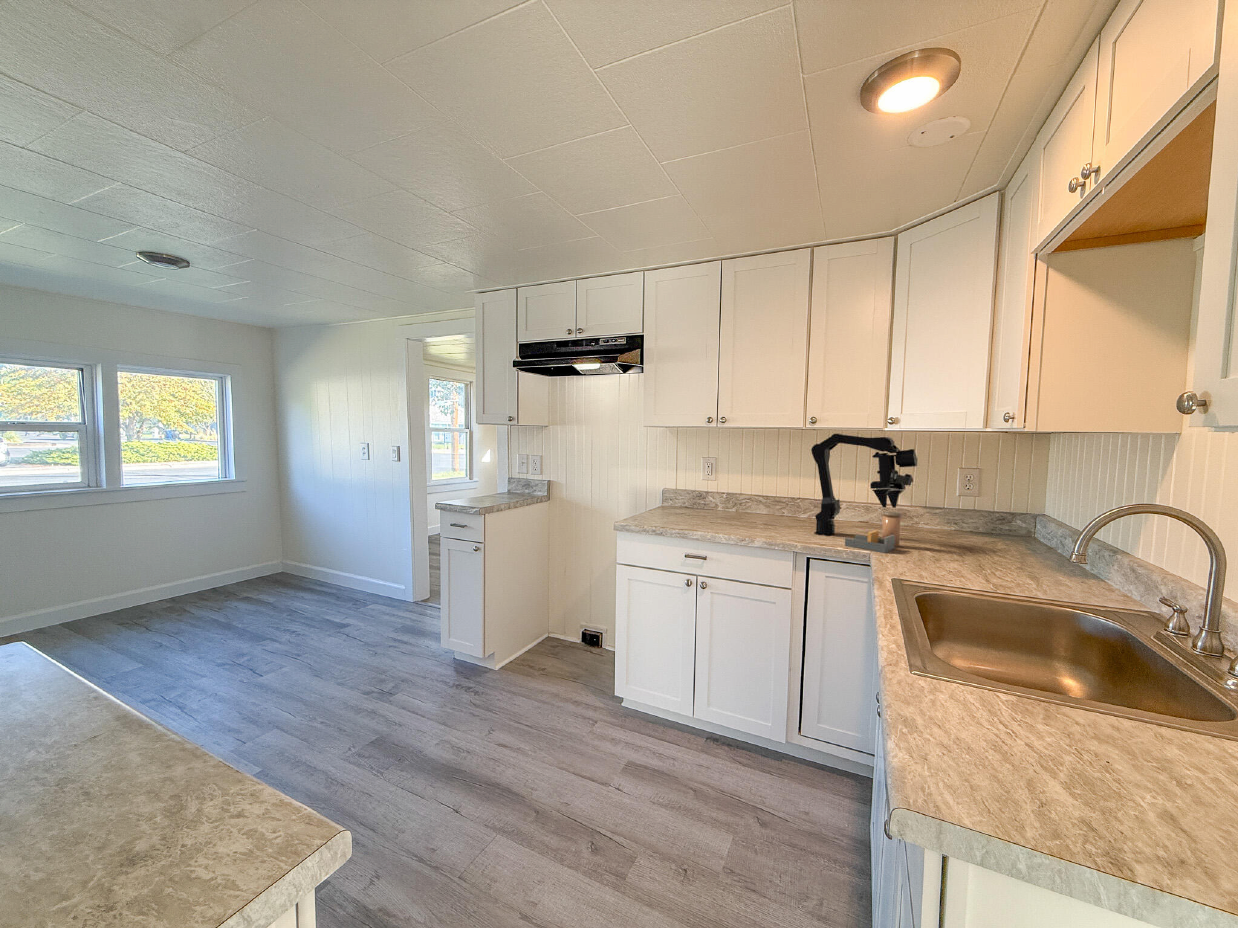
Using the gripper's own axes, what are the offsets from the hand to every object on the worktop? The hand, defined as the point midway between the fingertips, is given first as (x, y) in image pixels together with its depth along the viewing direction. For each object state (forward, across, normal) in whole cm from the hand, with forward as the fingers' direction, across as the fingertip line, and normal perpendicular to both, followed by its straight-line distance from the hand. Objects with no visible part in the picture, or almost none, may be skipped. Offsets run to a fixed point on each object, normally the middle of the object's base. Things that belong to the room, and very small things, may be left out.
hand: (889, 507), depth 193 cm
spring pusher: (+15, -10, +3) cm, 18 cm away
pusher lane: (+15, -10, +4) cm, 19 cm away
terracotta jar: (+15, -1, 0) cm, 15 cm away
